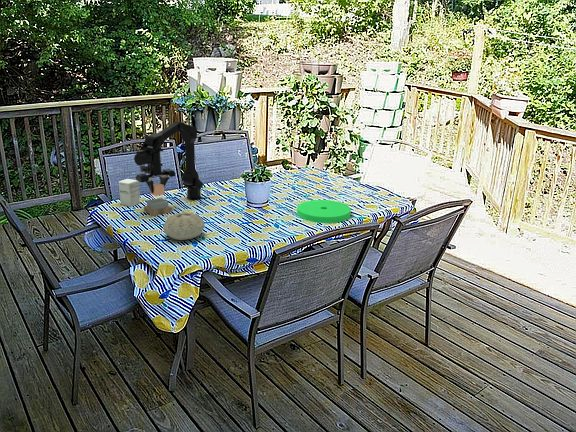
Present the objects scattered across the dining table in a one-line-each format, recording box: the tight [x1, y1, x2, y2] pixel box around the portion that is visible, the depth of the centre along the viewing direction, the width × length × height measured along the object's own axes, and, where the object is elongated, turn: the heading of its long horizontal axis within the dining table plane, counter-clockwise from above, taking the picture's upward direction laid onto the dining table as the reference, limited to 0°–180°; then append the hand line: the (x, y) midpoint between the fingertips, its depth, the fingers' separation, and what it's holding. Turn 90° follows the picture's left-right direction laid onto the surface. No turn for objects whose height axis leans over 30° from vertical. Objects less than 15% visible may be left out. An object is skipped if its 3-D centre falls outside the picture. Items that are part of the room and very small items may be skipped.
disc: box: [296, 199, 352, 224], centre depth 254 cm, size 27×27×3 cm
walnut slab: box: [143, 205, 172, 217], centre depth 253 cm, size 10×10×3 cm
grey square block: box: [146, 197, 169, 210], centre depth 252 cm, size 8×8×3 cm
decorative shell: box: [162, 212, 205, 241], centre depth 222 cm, size 18×18×10 cm
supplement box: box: [118, 178, 141, 208], centre depth 262 cm, size 7×7×13 cm
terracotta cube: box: [149, 182, 165, 197], centre depth 250 cm, size 5×5×5 cm
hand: (157, 192), depth 250 cm, fingers closed on terracotta cube, 5 cm apart
